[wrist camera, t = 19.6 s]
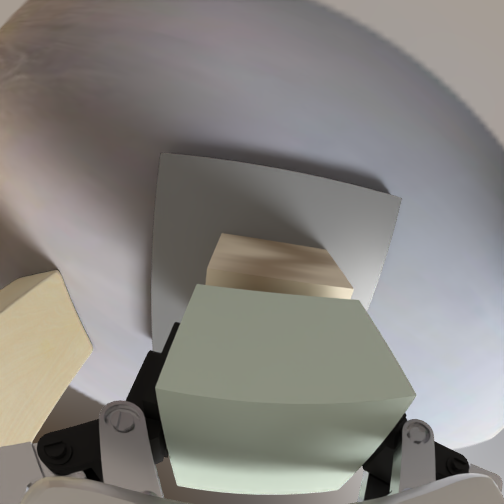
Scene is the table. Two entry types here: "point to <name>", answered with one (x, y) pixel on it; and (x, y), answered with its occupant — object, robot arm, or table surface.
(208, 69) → the table surface
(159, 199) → the base plate
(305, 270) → the birch block
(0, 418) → the toy refrigerator
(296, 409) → the sage block
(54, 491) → the robot arm
